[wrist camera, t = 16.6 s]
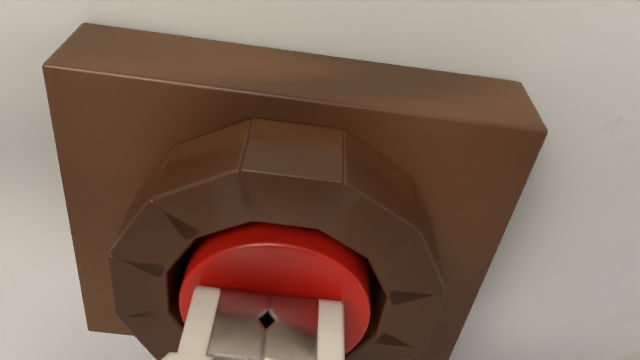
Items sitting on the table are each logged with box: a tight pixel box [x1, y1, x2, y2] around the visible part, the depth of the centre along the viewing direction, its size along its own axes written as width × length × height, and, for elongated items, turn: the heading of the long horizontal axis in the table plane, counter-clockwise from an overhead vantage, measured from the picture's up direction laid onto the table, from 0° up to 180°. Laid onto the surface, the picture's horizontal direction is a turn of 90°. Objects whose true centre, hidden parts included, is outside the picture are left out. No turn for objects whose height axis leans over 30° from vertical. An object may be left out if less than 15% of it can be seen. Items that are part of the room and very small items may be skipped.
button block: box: [42, 23, 548, 360], centre depth 14 cm, size 10×8×4 cm
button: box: [179, 221, 371, 354], centre depth 12 cm, size 4×4×2 cm
